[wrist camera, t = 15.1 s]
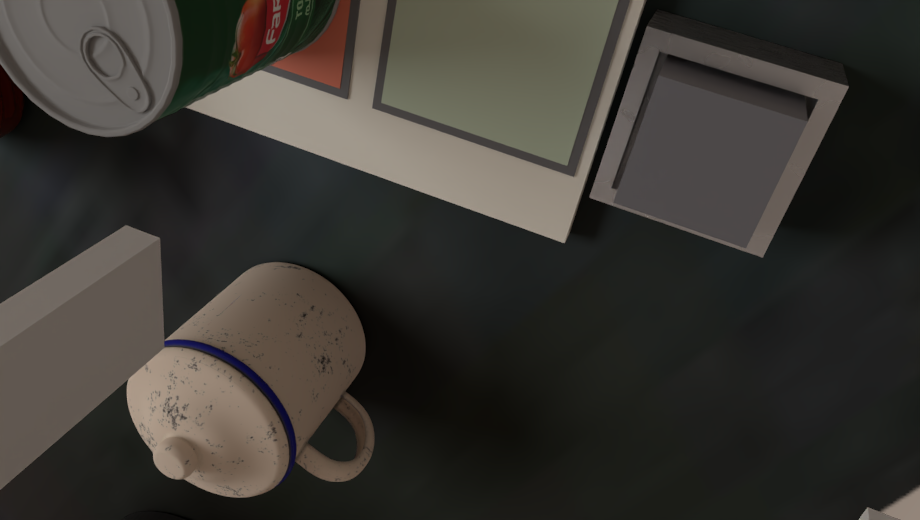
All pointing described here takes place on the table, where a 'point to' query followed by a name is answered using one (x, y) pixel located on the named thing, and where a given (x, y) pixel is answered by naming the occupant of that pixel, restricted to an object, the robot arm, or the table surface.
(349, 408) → the teacup with lid
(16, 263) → the table surface
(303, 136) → the picture board
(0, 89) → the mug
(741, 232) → the button
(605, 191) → the button base
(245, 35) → the canned tomato
